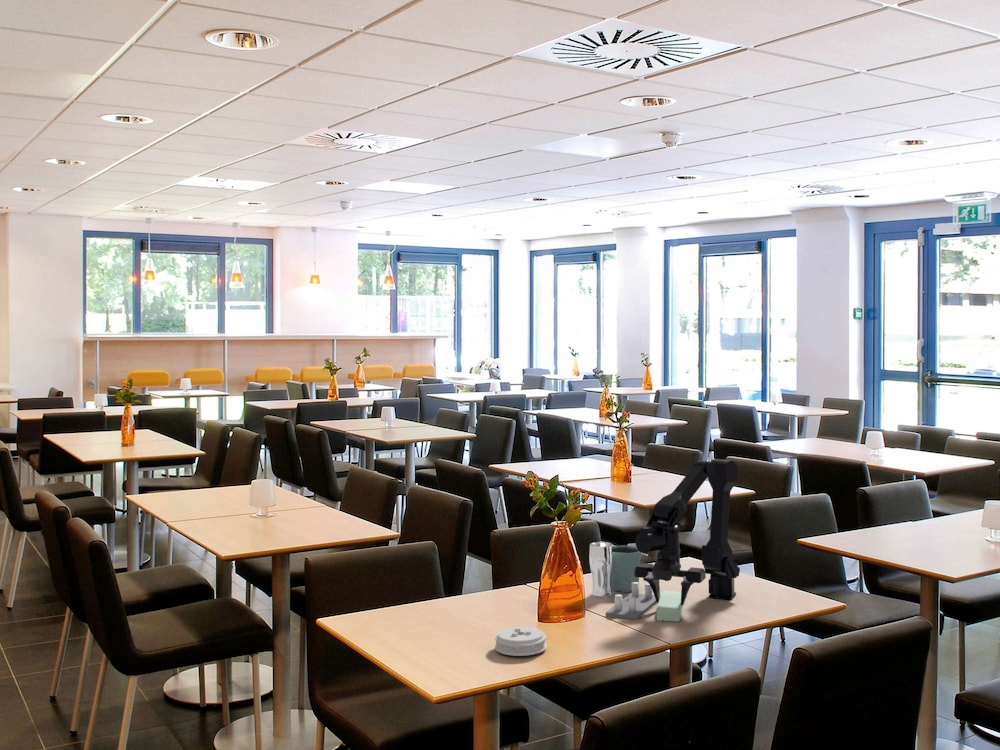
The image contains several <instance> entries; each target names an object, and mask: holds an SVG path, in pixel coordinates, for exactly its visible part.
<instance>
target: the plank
mask: <svg viewBox="0 0 1000 750" xmlns="http://www.w3.org/2000/svg"><path fill="white" fill-rule="evenodd" d="M683 607H684V605H681V591H667V590H666V591H665V590H664V591H663V590H661V591H660V599H659V603H657V607H656V621H657V620H660V621H659V622H661V621H662V620H664V621H662V622H679V621H680V622H681V617H682V613H683V612H682V611H683Z"/></svg>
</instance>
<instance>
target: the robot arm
mask: <svg viewBox="0 0 1000 750" xmlns="http://www.w3.org/2000/svg"><path fill="white" fill-rule="evenodd" d="M738 474H739V467H738V464H736V462H735V461H734V460H729V459H718V458H717V459H716V458H713V459H712V460H711V461H709V460H708V461H707V460H701V459H700V460H696V461H694V462H693V465H692V467H691V469H690V470H689V471H688V472H687V474H686V475H685V476H684V477H683V479H682V480H681V481H680V482H679V484H678V485H677V486H676V487H675V489H674V490H672V492H671V493H668V494H667V495H665V496H662V498H661V499H659V500H658V501H657V502H656V503H655V505H654V507H653V510H652V512H651V514H650V517H649V518H648V520H647V523H646V527H644V526H643V527H640V532H638V534H637V535H636V537H635V540H634V543H635V547H637V549H638V550H639V551H640V552H641V554H649V553H654V552H657V555H656V557H657V558H656V561H655V562H654V563H644V562H640V564H639V565H638V566H636V567H635V569H634V577H639V579H640V578H641V579H642V581H644V582H647V583H649V584H650V586H651V588H652V594H653V595H654V596H655V599H656V601H657V603H656V604H658V603H659V599H660V596H661V591H660V588H661V587H660V580H661V581H665V582H669V581H671V580H672V578H673V577H676V578H682V579H683V580H682V581H681V582H680V585H681V591H680V592H681V605H683V606H684V605H685V601H686V598H687V596H688V593H689V591H690V588H691V586H692V585H693V584H695V583H696V584H701V583H702V582H703V581H705V580H706V578H707V575H710V577H709V579H708V598H713V599H723V600H732V599H733V598H734V597H735V596H736V595H737V592H736V591H735V579H736V578H738V577H739V576H740V571H741V568H740V567H739V566H738V565H737V563H735V561H734V557H733V550H732V548H731V546H730V544H729V541H728V535H729V524H730V523H729V522H730V521H729V519H730V503H731V491H732V490H733V488H734V487H735V485H736V484H737V482H738V481H737V480H738ZM706 480H707V481H708V482H709V485H710V487H711V489H712V496H711V497H712V498H711V512H710V513H711V514H710V529H709V530H710V532H709V540H708V541H707V543H706V545H705V544H702V546H701V556H700V560H701V563H702V567H693V566H692V567H690V568H688V569H687V570H683V569H681V568H682V564H681V555H680V554H681V553H682V552H681V549H680V531H683V530H685V526H684V524H683V525H682V524H681V523H680V522H682V520H683V518H684V517H685V514H686V513H687V505H688V503H689V502H690V501H691V499H692V498H693V496H694V495H695V494H696V493H697V492H698V490H699V489H700V488H701V486H702V485H703V484H704V483H705V481H706Z"/></svg>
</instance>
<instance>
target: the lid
mask: <svg viewBox="0 0 1000 750" xmlns="http://www.w3.org/2000/svg"><path fill="white" fill-rule="evenodd" d="M494 640H495V646H494V649H495V650H496V651H497V653H499V654H502V655H505V656H506V655H507V656H514V657H517V656H518V657H523V656H531V655H532V656H533V655H536V654H540V653H543V652H544V651H545V650H546V649H547V646H548V645H547V644H546V640H547V634H546V633H545V632H544V631H542V630H541V629H539V628H537V627H531V626H512V627H508V628H504V629H502V630H500V631H499V632H498V633H497V634H495V636H494Z"/></svg>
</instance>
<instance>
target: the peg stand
mask: <svg viewBox="0 0 1000 750" xmlns="http://www.w3.org/2000/svg"><path fill="white" fill-rule="evenodd" d="M639 586H640V582H639V583H638V582H632V592H629V594H627V595H626V596H625V597H624V598H623V595H622V594H615V595H614V605H613V606H612V607H610V608H609V609H608V610H607V611H606V612H605V617H608V618H609V617H610V618H611V617H613V618H620V619H626V620H627V619H628V620H637V621H638V620H639V619H641V617H642V616H643V615H645V614H646V613H647V612H649V611H650V609H652V608H653V607H654V606H655V605H656V604H658V603H657V601H656V599H655V596H654V594H653V591H652V588H651V586H650V584H649V583H648V582H647V583H644V593H639V591H640V589H639V588H640V587H639ZM653 605H654V606H653ZM652 606H653V607H652ZM644 613H645V614H644Z"/></svg>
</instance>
